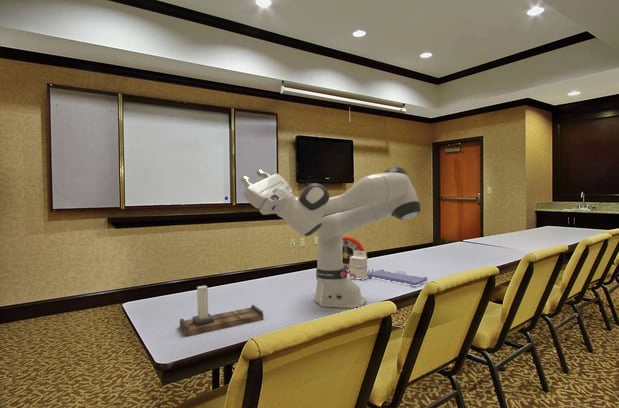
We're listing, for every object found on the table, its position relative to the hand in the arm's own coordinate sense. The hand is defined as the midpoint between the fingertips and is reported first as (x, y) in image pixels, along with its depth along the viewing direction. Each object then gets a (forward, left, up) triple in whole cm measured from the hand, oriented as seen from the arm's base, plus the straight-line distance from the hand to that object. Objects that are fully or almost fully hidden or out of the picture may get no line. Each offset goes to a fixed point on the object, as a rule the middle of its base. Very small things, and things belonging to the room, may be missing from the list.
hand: (250, 174), depth 124 cm
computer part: (-34, -84, -54) cm, 106 cm away
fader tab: (+17, +6, -52) cm, 55 cm away
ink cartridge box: (-15, -80, -54) cm, 98 cm away
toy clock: (-4, -94, -54) cm, 108 cm away
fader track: (+13, 0, -54) cm, 55 cm away
